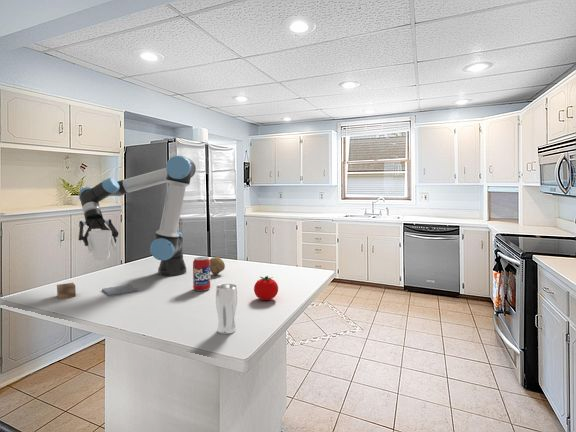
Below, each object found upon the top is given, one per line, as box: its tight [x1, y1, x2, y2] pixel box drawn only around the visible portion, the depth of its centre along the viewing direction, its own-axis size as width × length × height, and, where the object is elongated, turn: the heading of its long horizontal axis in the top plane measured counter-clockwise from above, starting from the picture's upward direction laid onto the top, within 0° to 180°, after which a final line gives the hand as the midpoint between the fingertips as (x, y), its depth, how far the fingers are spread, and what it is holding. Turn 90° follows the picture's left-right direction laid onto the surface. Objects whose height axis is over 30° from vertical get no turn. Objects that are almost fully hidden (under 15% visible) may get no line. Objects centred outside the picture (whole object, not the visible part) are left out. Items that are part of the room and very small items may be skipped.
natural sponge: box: [209, 256, 226, 276], centre depth 184 cm, size 9×9×10 cm
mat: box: [101, 283, 139, 297], centre depth 154 cm, size 12×12×1 cm
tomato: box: [253, 275, 279, 301], centre depth 143 cm, size 10×10×10 cm
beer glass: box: [215, 283, 238, 335], centre depth 111 cm, size 7×7×15 cm
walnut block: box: [56, 282, 77, 300], centre depth 145 cm, size 6×6×5 cm
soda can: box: [192, 256, 211, 292], centre depth 156 cm, size 8×8×15 cm
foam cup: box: [88, 229, 112, 261], centre depth 157 cm, size 10×9×13 cm
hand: (102, 249), depth 155 cm, fingers closed on foam cup, 9 cm apart
